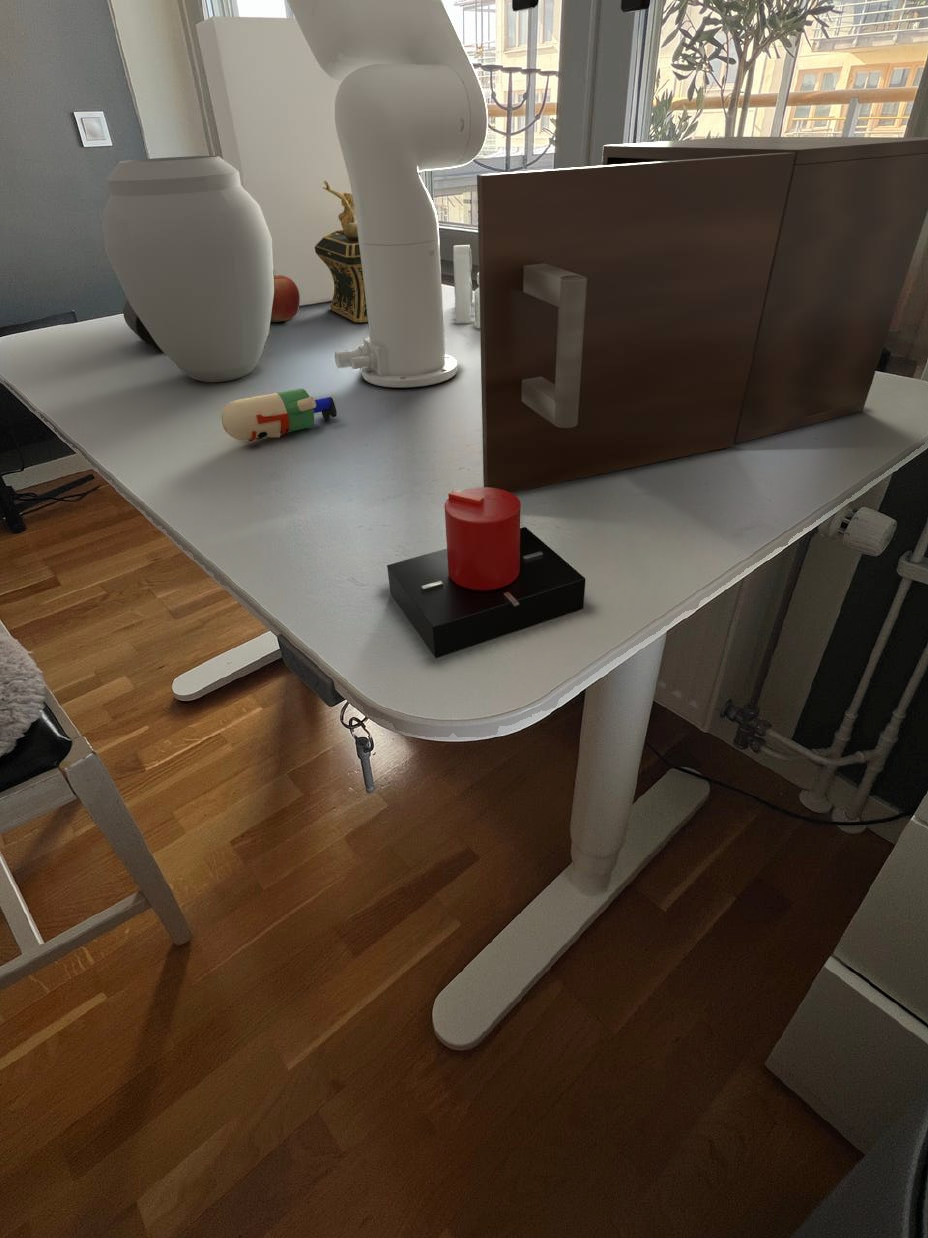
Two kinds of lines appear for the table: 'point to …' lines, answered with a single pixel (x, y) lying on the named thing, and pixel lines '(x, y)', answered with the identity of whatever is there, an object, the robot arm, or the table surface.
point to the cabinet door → (619, 311)
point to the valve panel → (484, 597)
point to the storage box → (279, 137)
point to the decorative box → (345, 263)
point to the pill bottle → (477, 305)
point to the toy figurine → (274, 414)
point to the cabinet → (822, 268)
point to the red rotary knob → (483, 537)
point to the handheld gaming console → (462, 283)
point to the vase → (192, 261)
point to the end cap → (138, 326)
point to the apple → (284, 299)
